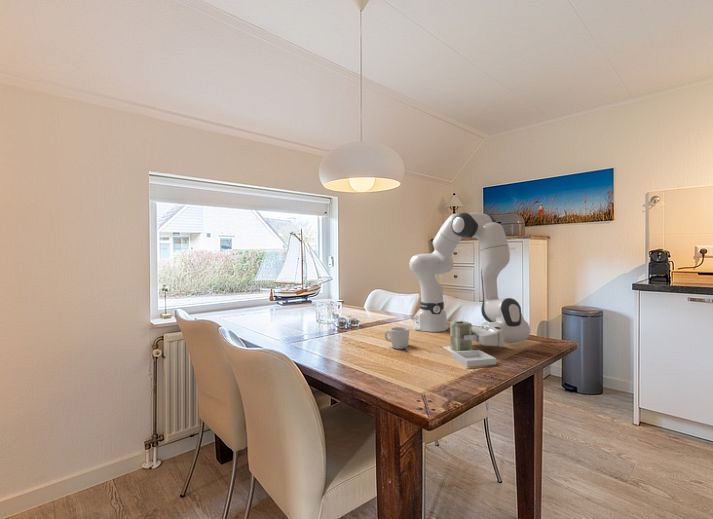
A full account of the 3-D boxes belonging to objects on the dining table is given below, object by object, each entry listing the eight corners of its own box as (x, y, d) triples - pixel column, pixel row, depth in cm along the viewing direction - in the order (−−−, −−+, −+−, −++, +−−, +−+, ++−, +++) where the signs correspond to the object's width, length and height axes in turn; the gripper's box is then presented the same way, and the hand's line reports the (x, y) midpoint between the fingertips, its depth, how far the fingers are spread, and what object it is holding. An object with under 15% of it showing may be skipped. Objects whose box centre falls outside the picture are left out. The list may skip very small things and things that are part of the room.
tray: (452, 359, 132) (452, 351, 132) (479, 357, 134) (479, 349, 134) (467, 369, 121) (466, 360, 121) (496, 366, 123) (496, 358, 123)
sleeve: (450, 348, 143) (450, 321, 142) (464, 347, 144) (463, 320, 144) (457, 352, 137) (457, 324, 137) (471, 351, 138) (471, 323, 138)
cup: (381, 348, 149) (381, 329, 149) (388, 343, 156) (388, 325, 156) (405, 351, 144) (405, 331, 144) (412, 346, 151) (411, 327, 151)
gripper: (476, 320, 153) (447, 322, 150) (505, 330, 133) (471, 333, 130) (476, 335, 153) (447, 337, 150) (505, 347, 133) (472, 350, 130)
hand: (458, 335), depth 140 cm, fingers closed on sleeve, 6 cm apart
